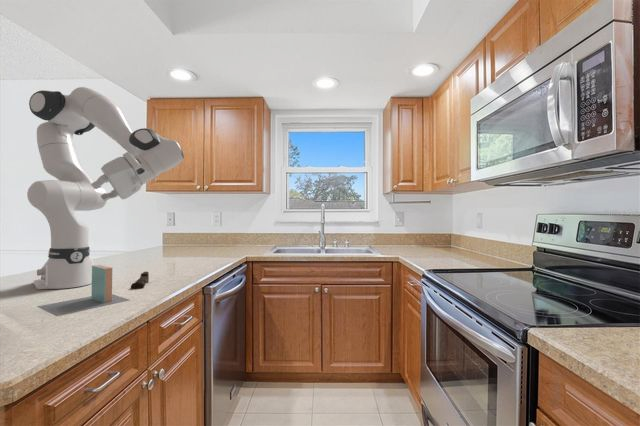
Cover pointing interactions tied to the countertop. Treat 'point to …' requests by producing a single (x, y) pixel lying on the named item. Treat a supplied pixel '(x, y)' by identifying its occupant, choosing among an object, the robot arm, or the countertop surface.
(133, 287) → the hand tool
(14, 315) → the countertop surface
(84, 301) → the board
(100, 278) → the tile
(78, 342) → the countertop surface
